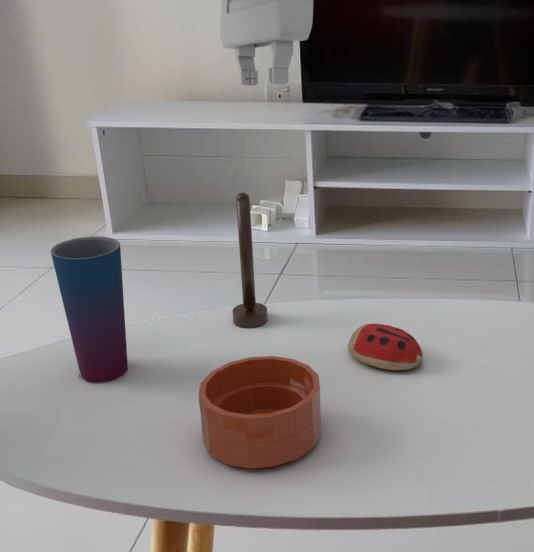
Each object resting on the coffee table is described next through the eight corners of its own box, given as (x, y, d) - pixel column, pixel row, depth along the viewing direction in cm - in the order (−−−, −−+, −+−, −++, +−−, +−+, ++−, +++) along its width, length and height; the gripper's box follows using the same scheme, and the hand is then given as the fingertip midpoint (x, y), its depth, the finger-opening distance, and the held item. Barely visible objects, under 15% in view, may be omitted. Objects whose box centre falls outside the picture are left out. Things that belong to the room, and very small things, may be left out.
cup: (143, 376, 84) (128, 250, 78) (80, 393, 80) (58, 263, 74) (126, 351, 89) (110, 232, 83) (65, 366, 85) (44, 243, 80)
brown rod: (232, 328, 95) (222, 198, 88) (234, 314, 99) (224, 188, 92) (267, 327, 96) (260, 197, 89) (267, 312, 100) (261, 187, 93)
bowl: (199, 478, 68) (193, 421, 65) (209, 410, 78) (204, 359, 75) (323, 468, 69) (322, 413, 67) (317, 403, 79) (316, 353, 77)
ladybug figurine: (366, 336, 94) (366, 311, 92) (435, 357, 89) (437, 330, 88) (335, 359, 88) (334, 332, 87) (408, 382, 84) (408, 354, 82)
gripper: (205, -29, 94) (210, 85, 97) (267, -57, 77) (270, 82, 80) (253, -24, 97) (256, 87, 100) (323, -50, 80) (324, 84, 83)
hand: (263, 85), depth 90 cm, fingers open, 8 cm apart
